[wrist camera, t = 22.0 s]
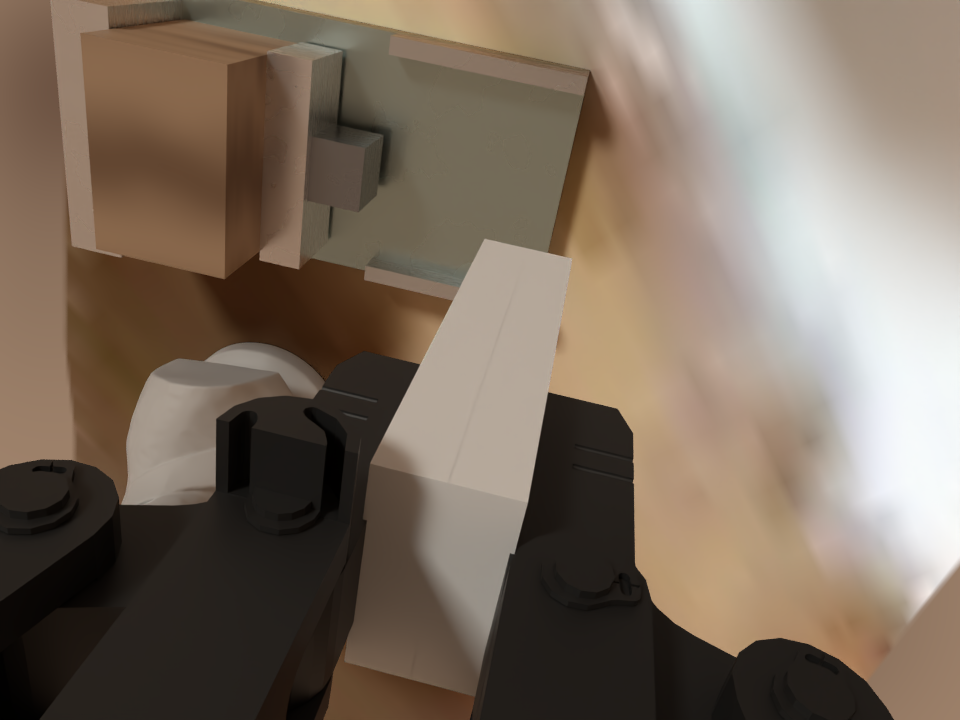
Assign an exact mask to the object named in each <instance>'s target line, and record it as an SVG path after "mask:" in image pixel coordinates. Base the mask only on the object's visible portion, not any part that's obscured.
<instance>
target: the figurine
mask: <svg viewBox="0 0 960 720" xmlns="http://www.w3.org/2000/svg"><path fill="white" fill-rule="evenodd" d="M324 383H325V381H324V380H323V379H322V377H321V376H320V375H319V374H318V373H317V372H316V371H315V370H314V369H313V368H312V367H311V366H310V365H308V364H307V363H306V362H305V361H303V360H302V359H301V358H299V357H297V356H296V355H294V354H292V353H290V352H288V351H286V350H284V349H282V348H279V347H276V346H272V345H269V344H263V343H254V342H247V343H238V344H233V345H230V346H227V347H225V348H222V349H221V350H219V351H217V352H216V353H214V354H213V355H212V356H210V357H209V358H208V359H207V360H206V361H195V360H187V359H176V360H174V361H172V362H170V363H167V364H165V365H163V366H161V367H159V368H158V369H156V370H155V371H153V372H152V373H151V375H150V376H149V378H148V380H147V381H146V383H145V386H144V388H143V390H142V393H141V395H140V397H139V400H138V403H137V406H136V409H135V411H134V414H133V416H132V420H131V424H130V429H129V433H128V437H127V445H126V451H127V463H128V483H127V488H126V494H125V496H124V499H123V501H122V504H121V505H188V504H198V503H203V502H207V501H208V500H209V499H210V497H211V496H212V495H213V493H214V492H215V491H216V419H217V418H218V417H219V416H221V415H222V414H223V413H225V412H226V411H228V410H229V409H230V408H232V407H233V406H235V405H238V404H241V403H244V402H247V401H250V400H253V399H256V398H262V397H274V396H293V397H301V398H309V399H313V398H314V397H315V395H316V394H317V393H318V391H319V390H322V386H323V384H324Z"/></svg>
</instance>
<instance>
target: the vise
mask: <svg viewBox="0 0 960 720" xmlns="http://www.w3.org/2000/svg"><path fill="white" fill-rule="evenodd" d="M50 3H51V14H52V24H53V36H54V47H55V58H56V70H57V81H58V91H59V103H60V114H61V126H62V137H63V149H64V160H65V171H66V182H67V194H68V205H69V216H70V227H71V239H72V246H74V247H78V248H83V249H87V250H91V251H95V252H100V253H104V254H108V255H112V256H117V257H121V258H122V257H124V256H123V255H119V254H115V253H111V252H106V251H102V250H98V249H96V241H95V227H94V214H93V200H92V186H91V173H90V159H89V145H88V131H87V118H86V104H85V90H84V77H83V63H82V49H81V36H80V33H84V32H92V31H99V30H107V29H114V28H122V27H129V26H137V25H144V24H152V23H159V22H167V21H174V20H182V19H186V20H191V21H195V22H200V23H205V24H209V25H214V26H219V27H224V28H228V29H233V30H238V31H242V32H247V33H252V34H257V35H261V36H266V37H271V38H275V39H280V40H285V41H289V42H294V43H301V42H303V43H308V44H313V45H318V46H322V47H327V48H332V49H336V50H341V51H343V56H342V68H341V81H340V93H339V105H338V117H337V125H340V126H345V127H349V128H354V129H359V130H363V131H368V132H372V133H377V134H381V135H384V136H383V145H382V154H381V163H380V172H379V181H378V190H377V196H376V197H375V198H373V199H372V200H371V201H370V202H369V203H368V204H367V205H366V206H365V207H364V208H363V209H362V210H361V211H360V212H354V211H350V210H345V209H341V208H337V207H332V206H330V215H329V228H328V240H327V243H326V244H325V245H324V246H323V247H322V248H321V249H320V250H319V251H318V252H317V253H316V254H315V255H314V256H313V257H312V258H313V259H318V260H322V261H326V262H331V263H335V264H339V265H344V266H348V267H352V268H357V269H361V270H365V275H364V280H366V281H371V282H375V283H379V284H384V285H388V286H392V287H397V288H401V289H405V290H410V291H414V292H418V293H422V294H427V295H431V296H435V297H440V298H444V299H448V300H454V298H455V296H456V294H457V292H458V290H459V288H460V286H461V284H462V282H463V280H464V278H465V276H466V274H467V272H468V270H469V268H470V266H471V264H472V262H473V260H474V259H475V257H476V255H477V253H478V251H479V249H480V247H481V245H482V243H483V241H484V239H488V240H492V241H497V242H501V243H506V244H510V245H515V246H519V247H523V248H528V249H532V250H537V251H541V252H545V253H548V250H549V246H550V242H551V237H552V233H553V229H554V224H555V220H556V216H557V211H558V207H559V203H560V198H561V194H562V190H563V185H564V181H565V177H566V172H567V168H568V164H569V159H570V155H571V151H572V146H573V142H574V138H575V133H576V129H577V125H578V120H579V116H580V112H581V107H582V103H583V99H584V94H585V90H586V86H587V81H588V77H589V73H590V70H586V69H581V68H577V67H572V66H567V65H562V64H558V63H553V62H548V61H543V60H538V59H534V58H529V57H524V56H519V55H515V54H510V53H505V52H500V51H495V50H491V49H486V48H481V47H476V46H472V45H467V44H462V43H457V42H453V41H448V40H443V39H438V38H433V37H429V36H424V35H419V34H414V33H410V32H405V31H400V30H395V29H390V28H386V27H381V26H376V25H371V24H367V23H362V22H357V21H352V20H347V19H343V18H338V17H333V16H328V15H324V14H319V13H314V12H309V11H304V10H300V9H295V8H290V7H285V6H281V5H276V4H271V3H266V2H262V1H257V0H50Z"/></svg>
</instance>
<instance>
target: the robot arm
mask: <svg viewBox="0 0 960 720" xmlns="http://www.w3.org/2000/svg"><path fill="white" fill-rule="evenodd" d="M571 263H572V258H568V257H563V256H559V255H554V254H550V253H545V252H541V251H537V250H532V249H528V248H523V247H519V246H515V245H510V244H506V243H501V242H497V241H492V240H488V239H484V241H483V243H482V245H481V247H480V249H479V251H478V253H477V255H476V257H475V259H474V260H473V262H472V264H471V266H470V268H469V270H468V272H467V274H466V276H465V278H464V280H463V282H462V284H461V286H460V288H459V290H458V292H457V294H456V296H455V298H454V300H453V302H452V304H451V306H450V308H449V310H448V311H447V313H446V315H445V317H444V319H443V321H442V323H441V325H440V327H439V329H438V331H437V333H436V335H435V337H434V339H433V341H432V343H431V345H430V347H429V349H428V351H427V353H426V355H425V357H424V359H423V361H422V362H421V364H416V363H412V362H407V361H403V360H399V359H395V358H391V357H386V356H382V355H378V354H374V353H370V352H366V351H363V352H362V353H360V354H358V355H356V356H354V357H352V358H350V359H348V360H346V361H344V362H342V363H340V364H338V365H337V366H336V367H335V369H334V370H333V372H332V373H331V374H330V376H329V377H328V379H327V380H326V381H325V383H324V384H323V386H322V390H319V391H318V393H317V394H316V395H315V397H314V398H313V399H309V398H301V397H293V396H274V397H262V398H256V399H253V400H250V401H247V402H244V403H241V404H238V405H235V406H233V407H232V408H230V409H229V410H228V411H226V412H225V413H223V414H222V415H221V416H219V417H218V418H217V419H216V491H215V492H214V493H213V495H212V496H211V497H210V499H209V500H208V501H207V502H203V503H198V504H188V505H119V497H118V494H117V491H116V488H115V485H114V482H113V480H112V479H111V478H109V477H108V476H107V475H106V474H104V473H103V472H102V471H100V470H99V469H98V468H96V467H93V466H90V465H86V464H83V463H79V462H76V461H72V460H37V461H31V462H25V463H21V464H15V465H10V466H7V467H5V468H2V469H0V720H323V718H324V716H325V713H326V711H327V708H328V704H329V698H330V692H331V685H332V677H333V671H334V668H335V666H336V664H337V661H338V659H339V656H340V654H341V651H342V649H343V647H344V644H345V642H346V639H347V645H346V653H345V660H344V662H347V663H351V664H355V665H358V666H362V667H366V668H370V669H373V670H377V671H381V672H385V673H388V674H392V675H396V676H400V677H403V678H407V679H411V680H415V681H418V682H422V683H426V684H430V685H433V686H437V687H441V688H445V689H448V690H452V691H456V692H460V693H463V694H467V695H471V696H475V700H474V705H473V710H472V714H471V717H470V720H894V719H893V718H892V716H891V714H890V713H889V711H888V709H887V708H886V706H885V705H884V704H883V703H882V701H881V700H880V699H879V697H878V696H877V695H876V694H875V692H874V691H873V690H872V688H871V687H870V686H869V685H868V683H867V682H866V681H865V680H864V679H862V678H861V677H860V676H859V675H857V674H856V673H855V672H854V671H853V670H851V669H850V668H849V667H848V666H846V665H845V664H844V663H843V662H841V661H840V660H839V659H837V658H835V657H833V656H831V655H829V654H827V653H825V652H823V651H821V650H819V649H817V648H815V647H813V646H811V645H809V644H805V643H800V642H796V641H791V640H787V639H783V638H776V639H767V640H758V641H755V642H754V643H752V644H751V645H749V646H748V647H746V648H745V649H744V650H742V651H741V652H739V654H738V656H737V658H736V657H734V656H732V655H730V654H728V653H726V652H724V651H722V650H720V649H719V648H717V647H715V646H713V645H711V644H709V643H707V642H705V641H703V640H701V639H699V638H698V637H696V636H694V635H692V634H691V633H689V632H688V631H686V630H684V629H683V628H681V627H680V626H678V625H676V624H675V623H674V622H672V621H671V620H670V619H669V618H668V617H667V616H666V615H664V614H663V613H662V612H661V611H660V610H659V609H658V608H657V607H656V606H655V605H654V603H653V602H652V600H651V597H650V593H649V590H648V586H647V583H646V580H645V578H644V577H643V576H642V574H641V573H640V572H639V571H638V569H637V568H636V566H635V537H634V484H633V479H634V464H633V463H632V462H633V432H632V431H631V429H630V428H629V426H628V425H627V423H626V421H625V420H624V418H623V417H622V415H621V414H620V412H619V410H618V409H616V408H612V407H608V406H603V405H599V404H595V403H591V402H587V401H582V400H578V399H574V398H570V397H566V396H561V395H557V394H553V393H549V392H548V389H549V384H550V378H551V373H552V367H553V362H554V356H555V351H556V345H557V340H558V334H559V329H560V323H561V318H562V312H563V307H564V301H565V296H566V290H567V285H568V279H569V274H570V268H571Z"/></svg>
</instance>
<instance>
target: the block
mask: <svg viewBox="0 0 960 720" xmlns="http://www.w3.org/2000/svg"><path fill="white" fill-rule="evenodd" d="M80 36H81V49H82V63H83V77H84V90H85V104H86V118H87V131H88V145H89V159H90V173H91V186H92V200H93V214H94V227H95V241H96V249H98V250H102V251H106V252H111V253H115V254H119V255H123V256H128V257H132V258H136V259H140V260H145V261H149V262H153V263H158V264H162V265H166V266H170V267H175V268H179V269H183V270H187V271H192V272H196V273H200V274H204V275H209V276H213V277H217V278H221V279H226V278H227V277H228V276H229V275H231V274H232V273H233V272H234V271H236V270H237V269H238V268H239V267H241V266H242V265H243V264H244V263H246V262H247V261H248V260H249V259H251V258H252V257H253V256H254V255H256V254H257V253H258V252H260V231H261V204H262V177H263V150H264V123H265V95H266V68H267V51H269V50H273V49H277V48H281V47H285V46H289V45H293V44H297V43H294V42H289V41H285V40H280V39H275V38H271V37H266V36H261V35H257V34H252V33H247V32H242V31H238V30H233V29H228V28H224V27H219V26H214V25H209V24H205V23H200V22H195V21H191V20H186V19H182V20H174V21H167V22H159V23H152V24H144V25H137V26H129V27H122V28H114V29H107V30H99V31H92V32H84V33H80Z"/></svg>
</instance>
